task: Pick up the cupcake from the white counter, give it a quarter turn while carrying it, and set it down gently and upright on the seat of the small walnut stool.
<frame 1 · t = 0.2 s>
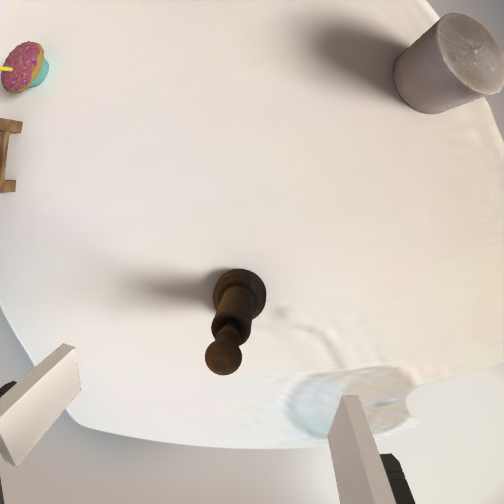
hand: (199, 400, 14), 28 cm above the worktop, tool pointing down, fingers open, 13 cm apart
cupcake: (38, 73, 37), on the worktop
brown chess pawn: (240, 292, 42), on the worktop
pillar candle: (422, 83, 35), on the worktop
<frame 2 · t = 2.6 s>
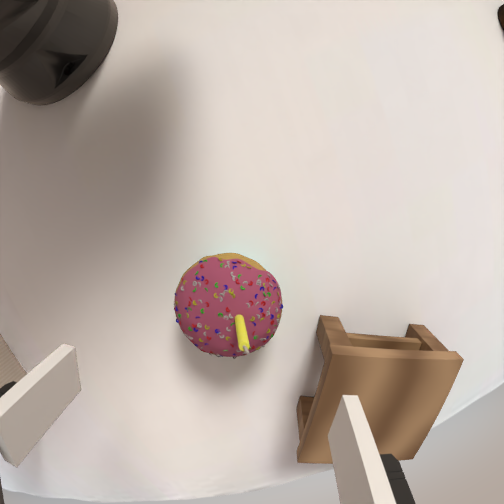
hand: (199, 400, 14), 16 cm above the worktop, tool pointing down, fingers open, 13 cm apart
walnut stool: (360, 370, 30), on the worktop
cupcake: (233, 289, 30), on the worktop
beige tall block: (13, 365, 34), on the worktop
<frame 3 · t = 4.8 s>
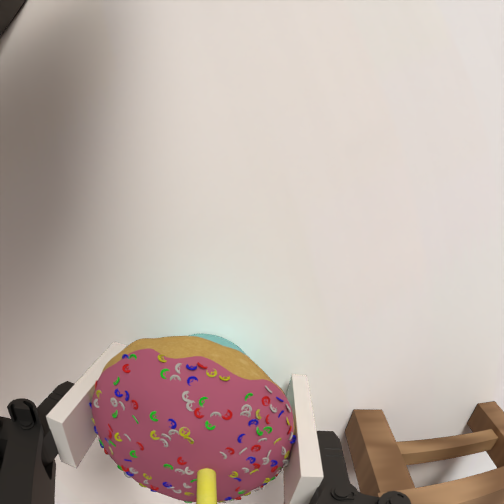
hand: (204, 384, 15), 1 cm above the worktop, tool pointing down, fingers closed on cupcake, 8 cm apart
walnut stool: (401, 466, 17), on the worktop
cupcake: (207, 373, 16), on the worktop, touching gripper
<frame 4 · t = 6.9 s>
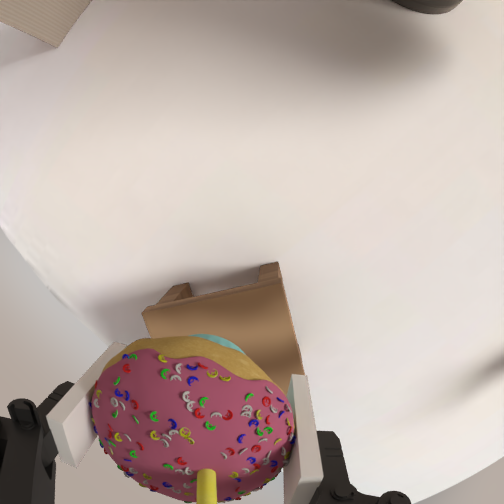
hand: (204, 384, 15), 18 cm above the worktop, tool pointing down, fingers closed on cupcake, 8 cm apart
walnut stool: (238, 323, 34), on the worktop
cupcake: (207, 373, 16), point 17 cm above the worktop, touching gripper
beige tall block: (73, 9, 28), on the worktop
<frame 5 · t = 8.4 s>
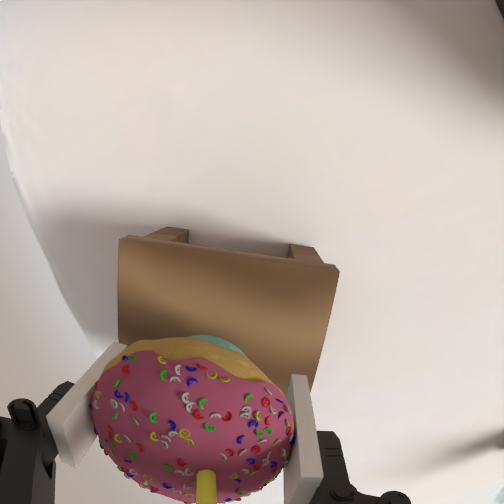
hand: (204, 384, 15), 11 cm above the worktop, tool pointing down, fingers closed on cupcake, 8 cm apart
walnut stool: (230, 306, 26), on the worktop
cupcake: (207, 374, 16), point 10 cm above the worktop, touching gripper
when the fingers open (10 cm above the worktop, at t = 9.3 s): cupcake drops 1 cm, resting on walnut stool.
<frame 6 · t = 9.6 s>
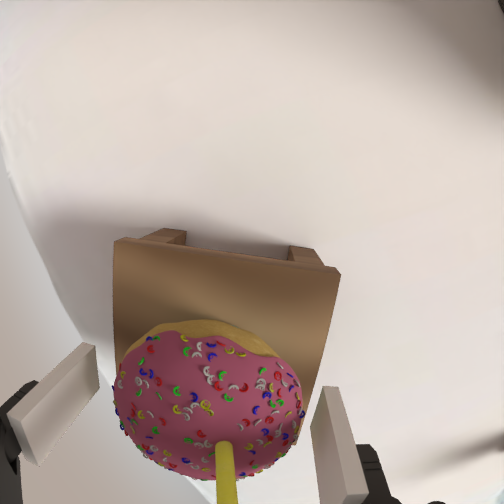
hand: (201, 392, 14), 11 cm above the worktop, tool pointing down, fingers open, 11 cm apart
walnut stool: (228, 309, 25), on the worktop
cupcake: (219, 360, 17), point 8 cm above the worktop, touching walnut stool
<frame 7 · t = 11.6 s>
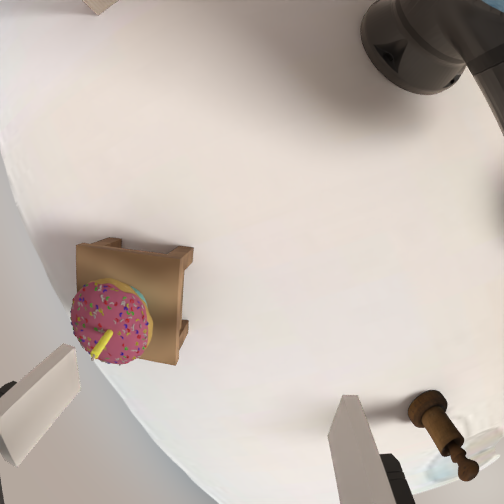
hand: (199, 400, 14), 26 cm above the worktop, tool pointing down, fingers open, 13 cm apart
walnut stool: (147, 285, 40), on the worktop
cupcake: (127, 306, 32), point 8 cm above the worktop, touching walnut stool
brown chess pawn: (424, 404, 43), on the worktop
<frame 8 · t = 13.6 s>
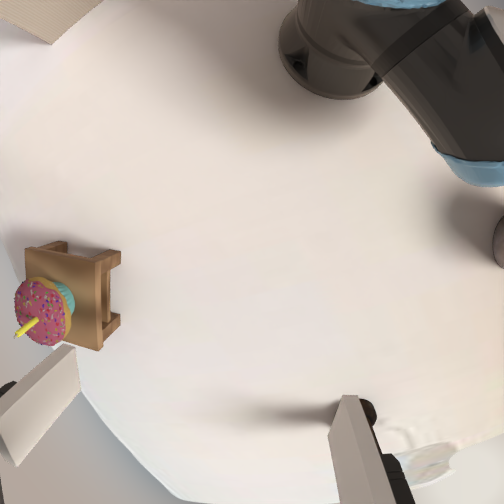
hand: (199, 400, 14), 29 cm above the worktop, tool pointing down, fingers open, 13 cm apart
walnut stool: (87, 282, 44), on the worktop
cupcake: (61, 300, 36), point 8 cm above the worktop, touching walnut stool
brown chess pawn: (354, 412, 46), on the worktop
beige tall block: (73, 14, 36), on the worktop
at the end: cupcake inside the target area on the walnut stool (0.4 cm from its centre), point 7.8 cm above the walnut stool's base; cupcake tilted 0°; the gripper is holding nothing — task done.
